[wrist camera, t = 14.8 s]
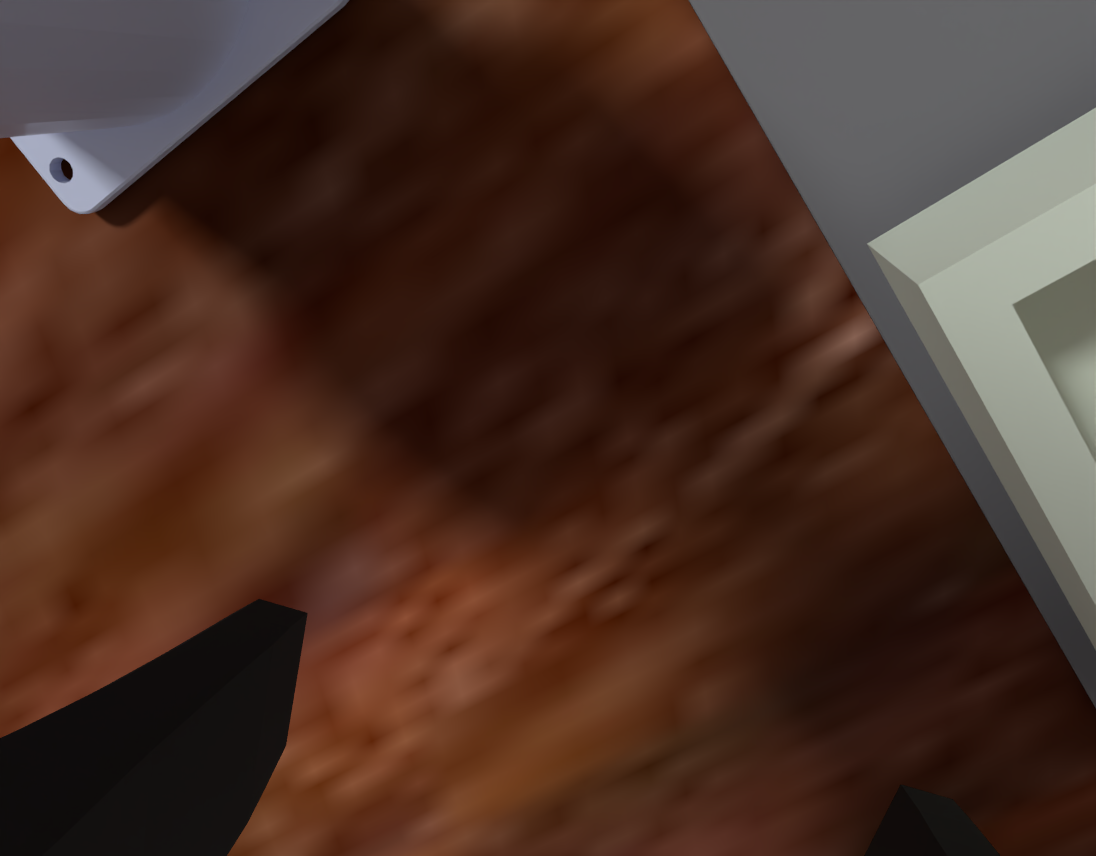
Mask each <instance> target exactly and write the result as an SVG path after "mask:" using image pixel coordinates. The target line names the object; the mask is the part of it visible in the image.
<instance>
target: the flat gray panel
mask: <svg viewBox="0 0 1096 856" xmlns="http://www.w3.org/2000/svg"><path fill="white" fill-rule="evenodd" d="M689 2H690V4H691V6H692V7H693V9H694V11H695V12H696V14H697V16H698V18H699V19H700V21H701V23H702V25H703V26H704V28H705V30H706V32H707V33H708V35H709V37H710V39H711V40H712V42H713V44H714V46H715V47H716V49H717V51H718V52H719V54H720V56H721V58H722V59H723V61H724V63H725V65H726V66H727V68H728V70H729V72H730V73H731V75H732V77H733V79H734V80H735V82H736V84H737V86H738V87H739V89H740V91H741V92H742V94H743V96H744V98H745V99H746V101H747V103H748V105H749V106H750V108H751V110H752V112H753V113H754V115H755V117H756V119H757V120H758V122H759V124H760V126H761V127H762V129H763V131H764V132H765V134H766V136H767V138H768V139H769V141H770V143H771V145H772V146H773V148H774V150H775V152H776V153H777V155H778V157H779V159H780V160H781V162H782V164H783V165H784V167H785V169H786V171H787V172H788V174H789V176H790V178H791V179H792V181H793V183H794V185H795V186H796V188H797V190H798V192H799V193H800V195H801V197H802V199H803V200H804V202H805V204H806V205H807V207H808V209H809V211H810V212H811V214H812V216H813V218H814V219H815V221H816V223H817V225H818V226H819V228H820V230H821V232H822V233H823V235H824V237H825V239H826V240H827V242H828V244H829V245H830V247H831V249H832V251H833V252H834V254H835V256H836V258H837V259H838V261H839V263H840V265H841V266H842V268H843V270H844V272H845V273H846V275H847V277H848V279H849V280H850V282H851V284H852V285H853V287H854V289H855V291H856V292H857V294H858V296H859V298H860V299H861V301H862V303H863V305H864V306H865V308H866V310H867V312H868V313H869V315H870V317H871V319H872V320H873V322H874V324H875V325H876V327H877V329H878V331H879V332H880V334H881V336H882V338H883V339H884V341H885V343H886V345H887V346H888V348H889V350H890V352H891V353H892V355H893V357H894V359H895V360H896V362H897V364H898V365H899V367H900V369H901V371H902V372H903V374H904V376H905V378H906V379H907V381H908V383H909V385H910V386H911V388H912V390H913V392H914V393H915V395H916V397H917V398H918V400H919V402H920V404H921V405H922V407H923V409H924V411H925V412H926V414H927V416H928V418H929V419H930V421H931V423H932V425H933V426H934V428H935V430H936V432H937V433H938V435H939V437H940V438H941V440H942V442H943V444H944V445H945V447H946V449H947V451H948V452H949V454H950V456H951V458H952V459H953V461H954V463H955V465H956V466H957V468H958V470H959V472H960V473H961V475H962V477H963V478H964V480H965V482H966V484H967V485H968V487H969V489H970V491H971V492H972V494H973V496H974V498H975V499H976V501H977V503H978V505H979V506H980V508H981V510H982V512H983V513H984V515H985V517H986V518H987V520H988V522H989V524H990V525H991V527H992V529H993V531H994V532H995V534H996V536H997V538H998V539H999V541H1000V543H1001V545H1002V546H1003V548H1004V550H1005V552H1006V553H1007V555H1008V557H1009V558H1010V560H1011V562H1012V564H1013V565H1014V567H1015V569H1016V571H1017V572H1018V574H1019V576H1020V578H1021V579H1022V581H1023V583H1024V585H1025V586H1026V588H1027V590H1028V592H1029V593H1030V595H1031V597H1032V598H1033V600H1034V602H1035V604H1036V605H1037V607H1038V609H1039V611H1040V612H1041V614H1042V616H1043V618H1044V619H1045V621H1046V623H1047V625H1048V626H1049V628H1050V630H1051V631H1052V633H1053V635H1054V637H1055V638H1056V640H1057V642H1058V644H1059V645H1060V647H1061V649H1062V651H1063V652H1064V654H1065V656H1066V658H1067V659H1068V661H1069V663H1070V665H1071V666H1072V668H1073V670H1074V671H1075V673H1076V675H1077V677H1078V678H1079V680H1080V682H1081V684H1082V685H1083V687H1084V689H1085V691H1086V692H1087V694H1088V696H1089V698H1090V699H1091V701H1092V703H1093V705H1094V706H1095V708H1096V650H1095V648H1094V646H1093V644H1092V643H1091V641H1090V639H1089V637H1088V636H1087V634H1086V632H1085V630H1084V628H1083V627H1082V625H1081V623H1080V621H1079V620H1078V618H1077V616H1076V614H1075V612H1074V611H1073V609H1072V607H1071V605H1070V604H1069V602H1068V600H1067V598H1066V596H1065V595H1064V593H1063V591H1062V589H1061V588H1060V586H1059V584H1058V582H1057V580H1056V579H1055V577H1054V575H1053V573H1052V572H1051V570H1050V568H1049V566H1048V564H1047V563H1046V561H1045V559H1044V557H1043V556H1042V554H1041V552H1040V550H1039V549H1038V547H1037V545H1036V543H1035V541H1034V540H1033V538H1032V536H1031V534H1030V533H1029V531H1028V529H1027V527H1026V525H1025V524H1024V522H1023V520H1022V518H1021V517H1020V515H1019V513H1018V511H1017V509H1016V508H1015V506H1014V504H1013V502H1012V501H1011V499H1010V497H1009V495H1008V493H1007V492H1006V490H1005V488H1004V486H1003V485H1002V483H1001V481H1000V479H999V477H998V476H997V474H996V472H995V470H994V469H993V467H992V465H991V463H990V461H989V460H988V458H987V456H986V454H985V453H984V451H983V449H982V447H981V445H980V444H979V442H978V440H977V438H976V437H975V435H974V433H973V431H972V429H971V428H970V426H969V424H968V422H967V421H966V419H965V417H964V415H963V413H962V412H961V410H960V408H959V406H958V405H957V403H956V401H955V399H954V397H953V396H952V394H951V392H950V390H949V389H948V387H947V385H946V383H945V382H944V380H943V378H942V376H941V374H940V373H939V371H938V369H937V367H936V366H935V364H934V362H933V360H932V358H931V357H930V355H929V353H928V351H927V350H926V348H925V346H924V344H923V342H922V341H921V339H920V337H919V335H918V334H917V332H916V330H915V328H914V326H913V325H912V323H911V321H910V319H909V318H908V316H907V314H906V312H905V310H904V309H903V307H902V305H901V303H900V302H899V300H898V298H897V296H896V294H895V293H894V291H893V289H892V287H891V286H890V284H889V282H888V280H887V278H886V277H885V275H884V273H883V271H882V270H881V268H880V266H879V264H878V262H877V261H876V259H875V257H874V255H873V254H872V252H871V250H870V248H869V246H868V245H867V243H869V242H871V241H872V240H874V239H876V238H877V237H879V236H881V235H882V234H884V233H886V232H887V231H889V230H891V229H893V228H894V227H896V226H898V225H899V224H901V223H903V222H904V221H906V220H908V219H909V218H911V217H913V216H914V215H916V214H918V213H919V212H921V211H923V210H924V209H926V208H928V207H930V206H931V205H933V204H935V203H936V202H938V201H940V200H941V199H943V198H945V197H946V196H948V195H950V194H951V193H953V192H955V191H956V190H958V189H960V188H961V187H963V186H965V185H967V184H968V183H970V182H972V181H973V180H975V179H977V178H978V177H980V176H982V175H983V174H985V173H987V172H988V171H990V170H992V169H993V168H995V167H997V166H998V165H1000V164H1002V163H1004V162H1005V161H1007V160H1009V159H1010V158H1012V157H1014V156H1015V155H1017V154H1019V153H1020V152H1022V151H1024V150H1025V149H1027V148H1029V147H1030V146H1032V145H1034V144H1035V143H1037V142H1039V141H1041V140H1042V139H1044V138H1046V137H1047V136H1049V135H1051V134H1052V133H1054V132H1056V131H1057V130H1059V129H1061V128H1062V127H1064V126H1066V125H1067V124H1069V123H1071V122H1072V121H1074V120H1076V119H1078V118H1079V117H1081V116H1083V115H1084V114H1086V113H1088V112H1089V111H1091V110H1093V109H1094V108H1096V0H689Z"/></svg>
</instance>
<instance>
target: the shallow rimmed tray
mask: <svg viewBox="0 0 1096 856" xmlns="http://www.w3.org/2000/svg"><path fill="white" fill-rule="evenodd" d="M867 245H868V246H869V248H870V250H871V252H872V254H873V255H874V257H875V259H876V261H877V262H878V264H879V266H880V268H881V270H882V271H883V273H884V275H885V277H886V278H887V280H888V282H889V284H890V286H891V287H892V289H893V291H894V293H895V294H896V296H897V298H898V300H899V302H900V303H901V305H902V307H903V309H904V310H905V312H906V314H907V316H908V318H909V319H910V321H911V323H912V325H913V326H914V328H915V330H916V332H917V334H918V335H919V337H920V339H921V341H922V342H923V344H924V346H925V348H926V350H927V351H928V353H929V355H930V357H931V358H932V360H933V362H934V364H935V366H936V367H937V369H938V371H939V373H940V374H941V376H942V378H943V380H944V382H945V383H946V385H947V387H948V389H949V390H950V392H951V394H952V396H953V397H954V399H955V401H956V403H957V405H958V406H959V408H960V410H961V412H962V413H963V415H964V417H965V419H966V421H967V422H968V424H969V426H970V428H971V429H972V431H973V433H974V435H975V437H976V438H977V440H978V442H979V444H980V445H981V447H982V449H983V451H984V453H985V454H986V456H987V458H988V460H989V461H990V463H991V465H992V467H993V469H994V470H995V472H996V474H997V476H998V477H999V479H1000V481H1001V483H1002V485H1003V486H1004V488H1005V490H1006V492H1007V493H1008V495H1009V497H1010V499H1011V501H1012V502H1013V504H1014V506H1015V508H1016V509H1017V511H1018V513H1019V515H1020V517H1021V518H1022V520H1023V522H1024V524H1025V525H1026V527H1027V529H1028V531H1029V533H1030V534H1031V536H1032V538H1033V540H1034V541H1035V543H1036V545H1037V547H1038V549H1039V550H1040V552H1041V554H1042V556H1043V557H1044V559H1045V561H1046V563H1047V564H1048V566H1049V568H1050V570H1051V572H1052V573H1053V575H1054V577H1055V579H1056V580H1057V582H1058V584H1059V586H1060V588H1061V589H1062V591H1063V593H1064V595H1065V596H1066V598H1067V600H1068V602H1069V604H1070V605H1071V607H1072V609H1073V611H1074V612H1075V614H1076V616H1077V618H1078V620H1079V621H1080V623H1081V625H1082V627H1083V628H1084V630H1085V632H1086V634H1087V636H1088V637H1089V639H1090V641H1091V643H1092V644H1093V646H1094V648H1095V650H1096V108H1094V109H1093V110H1091V111H1089V112H1088V113H1086V114H1084V115H1083V116H1081V117H1079V118H1078V119H1076V120H1074V121H1072V122H1071V123H1069V124H1067V125H1066V126H1064V127H1062V128H1061V129H1059V130H1057V131H1056V132H1054V133H1052V134H1051V135H1049V136H1047V137H1046V138H1044V139H1042V140H1041V141H1039V142H1037V143H1035V144H1034V145H1032V146H1030V147H1029V148H1027V149H1025V150H1024V151H1022V152H1020V153H1019V154H1017V155H1015V156H1014V157H1012V158H1010V159H1009V160H1007V161H1005V162H1004V163H1002V164H1000V165H998V166H997V167H995V168H993V169H992V170H990V171H988V172H987V173H985V174H983V175H982V176H980V177H978V178H977V179H975V180H973V181H972V182H970V183H968V184H967V185H965V186H963V187H961V188H960V189H958V190H956V191H955V192H953V193H951V194H950V195H948V196H946V197H945V198H943V199H941V200H940V201H938V202H936V203H935V204H933V205H931V206H930V207H928V208H926V209H924V210H923V211H921V212H919V213H918V214H916V215H914V216H913V217H911V218H909V219H908V220H906V221H904V222H903V223H901V224H899V225H898V226H896V227H894V228H893V229H891V230H889V231H887V232H886V233H884V234H882V235H881V236H879V237H877V238H876V239H874V240H872V241H871V242H869V243H867Z"/></svg>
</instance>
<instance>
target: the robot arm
mask: <svg viewBox="0 0 1096 856" xmlns="http://www.w3.org/2000/svg"><path fill="white" fill-rule="evenodd" d="M348 1H349V0H0V138H6V137H10V138H11V139H12V141H13V142H14V143H15V144H16V146H17V147H18V148H19V149H20V151H21V152H22V153H23V154H24V155H25V157H26V158H27V159H28V160H29V162H30V163H31V164H32V165H33V167H34V168H35V169H36V170H37V172H38V173H39V174H40V175H41V177H42V178H43V179H44V180H45V181H46V183H47V184H48V185H49V186H50V188H51V189H52V190H53V191H54V193H55V194H56V195H57V196H58V198H59V199H60V200H61V201H62V203H63V204H64V205H65V206H67V207H68V208H69V209H70V210H71V211H74V212H76V213H79V214H89V213H93V212H97V211H99V210H101V209H103V208H104V207H105V206H106V205H108V204H109V203H110V202H111V201H112V200H114V199H115V198H116V197H117V196H118V195H120V194H121V193H122V192H123V191H124V190H126V189H127V188H128V187H129V186H130V185H132V184H133V183H134V182H135V181H136V180H137V179H139V178H140V177H141V176H142V175H143V174H145V173H146V172H147V171H148V170H149V169H151V168H152V167H153V166H154V165H155V164H157V163H158V162H159V161H160V160H161V159H163V158H164V157H165V156H166V155H167V154H169V153H170V152H171V151H172V150H173V149H174V148H176V147H177V146H178V145H179V144H180V143H182V142H183V141H184V140H185V139H186V138H188V137H189V136H190V135H191V134H192V133H194V132H195V131H196V130H197V129H198V128H200V127H201V126H202V125H203V124H204V123H206V122H207V121H208V120H209V119H210V118H211V117H213V116H214V115H215V114H216V113H217V112H219V111H220V110H221V109H222V108H223V107H225V106H226V105H227V104H228V103H229V102H231V101H232V100H233V99H234V98H235V97H237V96H238V95H239V94H240V93H241V92H243V91H244V90H245V89H246V88H247V87H248V86H250V85H251V84H252V83H253V82H254V81H256V80H257V79H258V78H259V77H260V76H262V75H263V74H264V73H265V72H266V71H268V70H269V69H270V68H271V67H272V66H274V65H275V64H276V63H277V62H278V61H280V60H281V59H282V58H283V57H284V56H285V55H287V54H288V53H289V52H290V51H291V50H293V49H294V48H295V47H296V46H297V45H299V44H300V43H301V42H302V41H303V40H305V39H306V38H307V37H308V36H309V35H311V34H312V33H313V32H314V31H315V30H317V29H318V28H319V27H320V26H321V25H322V24H324V23H325V22H326V21H327V20H328V19H330V18H331V17H332V16H333V15H334V14H336V13H337V12H338V11H339V10H340V9H342V8H343V7H344V6H345V5H346V4H347V2H348ZM63 159H65V160H67V161H68V162H69V163H70V165H71V167H72V169H73V177H72V179H71V180H69V179H68V178H67V177H65V176H64V174H63V172H62V170H61V162H62V161H63ZM306 619H307V613H306V612H302V611H299V610H295V609H292V608H288V607H285V606H281V605H278V604H275V603H271V602H268V601H264V600H261V599H258V600H256V601H254V602H253V603H251V604H249V605H247V606H245V607H243V608H242V609H240V610H238V611H236V612H235V613H233V614H231V615H229V616H228V617H226V618H224V619H223V620H221V621H219V622H217V623H216V624H214V625H212V626H211V627H209V628H207V629H206V630H204V631H202V632H201V633H199V634H197V635H195V636H194V637H192V638H190V639H189V640H187V641H185V642H183V643H182V644H180V645H178V646H177V647H175V648H173V649H171V650H170V651H168V652H166V653H164V654H163V655H161V656H159V657H157V658H156V659H154V660H152V661H150V662H148V663H147V664H145V665H143V666H141V667H139V668H137V669H136V670H134V671H132V672H130V673H128V674H127V675H125V676H123V677H121V678H119V679H118V680H116V681H114V682H112V683H110V684H109V685H107V686H105V687H103V688H101V689H99V690H97V691H95V692H93V693H92V694H90V695H88V696H86V697H84V698H82V699H80V700H78V701H76V702H74V703H72V704H70V705H68V706H66V707H64V708H61V709H59V710H57V711H55V712H53V713H51V714H49V715H47V716H45V717H43V718H41V719H39V720H37V721H35V722H33V723H31V724H29V725H27V726H25V727H23V728H21V729H19V730H17V731H15V732H13V733H11V734H8V735H6V736H4V737H2V738H0V856H227V854H228V853H229V851H230V850H231V848H232V847H233V845H234V844H235V842H236V840H237V839H238V837H239V836H240V834H241V832H242V831H243V829H244V828H245V826H246V825H247V823H248V821H249V819H250V817H251V815H252V813H253V811H254V809H255V807H256V805H257V803H258V801H259V799H260V797H261V795H262V793H263V791H264V789H265V788H266V785H267V783H268V781H269V779H270V777H271V775H272V773H273V771H274V769H275V767H276V765H277V763H278V761H279V759H280V757H281V755H282V753H283V751H284V749H285V746H286V742H287V736H288V729H289V723H290V717H291V711H292V705H293V699H294V693H295V687H296V680H297V674H298V668H299V662H300V656H301V650H302V644H303V638H304V632H305V625H306ZM865 856H1000V855H999V854H998V852H997V851H996V850H995V849H994V847H993V846H992V845H991V844H990V842H989V841H988V840H987V839H986V838H985V836H984V835H983V834H982V833H981V832H980V830H979V829H978V828H977V827H976V825H975V824H974V823H973V822H972V821H971V820H970V818H969V817H968V816H967V815H966V814H965V813H964V812H963V810H962V809H961V808H960V807H959V806H958V805H957V804H956V803H955V802H954V800H953V799H950V798H946V797H943V796H939V795H936V794H932V793H929V792H925V791H922V790H918V789H915V788H911V787H908V786H905V785H900V787H899V789H898V791H897V793H896V795H895V797H894V798H893V800H892V802H891V804H890V806H889V808H888V810H887V812H886V814H885V816H884V818H883V820H882V822H881V824H880V826H879V828H878V830H877V832H876V834H875V836H874V838H873V840H872V842H871V844H870V846H869V848H868V850H867V852H866V854H865Z"/></svg>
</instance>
